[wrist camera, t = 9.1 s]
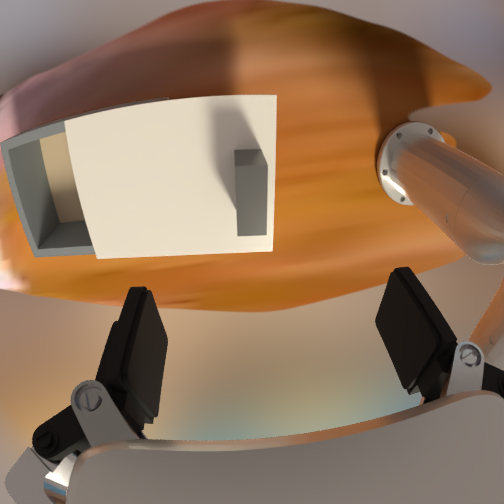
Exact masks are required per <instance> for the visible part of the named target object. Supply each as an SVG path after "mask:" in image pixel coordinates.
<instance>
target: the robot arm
mask: <svg viewBox="0 0 504 504" xmlns="http://www.w3.org/2000/svg"><path fill="white" fill-rule="evenodd" d="M377 174H378V179H379V182H380V185H381V187H382V188H383V190H384V191H385V193H386V194H387V195H388V196H389V197H390V198H391V199H393V200H394V201H396V202H397V203H400V204H403V205H415V206H416V207H418V208H419V209H420V210H421V211H422V212H423V213H424V214H425V215H426V216H427V217H429V218H430V219H431V220H432V221H433V222H434V223H435V224H436V225H437V226H438V227H439V228H440V229H441V230H442V231H443V232H444V233H445V234H446V235H447V236H448V237H449V238H450V239H451V240H452V241H453V242H454V243H455V244H456V245H457V246H458V247H459V248H460V249H461V250H462V251H463V252H464V253H465V254H466V255H467V256H468V257H470V258H471V259H472V260H474V261H476V262H478V263H480V264H486V265H495V264H503V263H504V175H502V174H501V173H499V172H497V171H496V170H494V169H492V168H491V167H489V166H487V165H485V164H484V163H482V162H480V161H478V160H476V159H475V158H473V157H471V156H469V155H467V154H465V153H463V152H462V151H460V150H458V149H456V148H454V147H452V146H450V145H447V144H446V143H445V141H444V139H443V137H442V136H441V134H440V133H439V132H438V131H437V130H436V129H435V128H434V127H432V126H430V125H428V124H426V123H423V122H419V121H410V122H406V123H403V124H401V125H399V126H397V127H396V128H395V129H393V130H392V131H391V132H390V133H389V134H388V136H387V137H386V138H385V140H384V142H383V143H382V145H381V148H380V151H379V154H378V159H377ZM375 323H376V326H377V329H378V331H379V333H380V335H381V337H382V340H383V342H384V344H385V346H386V349H387V351H388V353H389V355H390V358H391V360H392V362H393V365H394V367H395V369H396V372H397V374H398V377H399V379H400V381H401V384H402V386H403V388H404V389H407V391H408V394H409V395H411V394H414V393H417V392H421V394H422V397H421V400H420V403H419V406H417V407H413V408H410V409H407V410H404V411H401V412H398V413H394V414H391V415H388V416H384V417H380V418H376V419H373V420H369V421H365V422H361V423H356V424H352V425H348V426H343V427H338V428H333V429H328V430H322V431H316V432H310V433H304V434H297V435H289V436H281V437H271V438H260V439H246V440H224V441H179V440H152V439H148V438H147V437H146V436H145V434H144V433H143V432H142V430H143V429H144V423H148V424H153V419H154V417H157V416H158V411H159V403H160V395H161V387H162V379H163V372H164V365H165V359H166V352H167V346H168V338H167V335H166V332H165V329H164V326H163V323H162V321H161V318H160V315H159V312H158V309H157V306H156V303H155V301H154V298H153V295H152V292H151V290H147V288H146V287H131V288H130V289H129V292H128V294H127V297H126V300H125V303H124V305H123V308H122V311H121V314H120V317H119V320H118V321H115V322H114V323H113V325H112V328H111V331H110V334H109V336H108V339H107V343H106V345H105V349H104V352H103V355H102V358H101V361H100V365H99V368H98V372H97V375H96V379H95V381H94V380H87V381H84V382H81V383H80V384H79V385H77V386H76V387H75V389H74V390H73V392H72V395H71V405H70V406H68V407H67V408H66V409H64V410H62V411H61V412H59V413H58V414H57V415H55V416H53V417H52V418H51V419H49V420H48V421H46V422H45V423H43V424H41V425H40V426H39V427H38V428H37V429H36V430H35V432H34V434H33V438H32V440H33V441H32V444H33V446H32V448H30V447H28V448H27V449H26V450H25V452H24V453H23V454H22V455H21V457H20V458H19V459H18V461H17V462H16V463H15V464H14V466H13V467H12V468H11V470H10V471H9V472H8V474H7V476H6V479H5V485H6V489H7V491H8V493H9V494H10V495H11V497H12V498H13V499H14V501H15V502H16V503H17V504H504V278H503V280H502V282H501V285H500V287H499V289H498V291H497V292H496V294H495V296H494V298H493V299H492V301H491V303H490V305H489V306H488V308H487V309H486V311H485V312H484V314H483V315H482V317H481V319H480V320H479V322H478V323H477V325H476V327H475V328H474V330H473V332H472V334H471V336H470V338H469V341H463V342H461V343H459V344H457V342H456V340H457V338H456V336H455V335H454V333H453V331H452V330H451V328H450V327H449V325H448V323H447V322H446V320H445V318H444V317H443V315H442V314H441V312H440V311H439V309H438V308H437V306H436V305H435V303H434V302H433V300H432V299H431V297H430V296H429V294H428V293H427V291H426V290H425V289H424V287H423V286H422V284H421V283H420V281H419V280H418V279H417V277H416V276H415V274H414V273H413V272H412V270H411V269H410V268H409V267H400V268H395V269H394V271H393V272H391V274H390V276H389V280H388V283H387V286H386V289H385V292H384V295H383V298H382V301H381V304H380V307H379V310H378V313H377V316H376V320H375ZM67 487H68V489H67ZM66 490H67V496H66Z"/></svg>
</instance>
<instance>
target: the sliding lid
mask: <svg viewBox="0 0 504 504" xmlns="http://www.w3.org/2000/svg"><path fill="white" fill-rule="evenodd" d="M276 99H277V95H220V96H204V97H192V98H181V99H172V100H164V101H157V102H150V103H143V104H137V105H131V106H126V107H120V108H115V109H110V110H105V111H101V112H96V113H92V114H88V115H84V116H80V117H76V118H72V119H69V120H66V121H64V123H65V130H66V136H67V142H68V148H69V154H70V159H71V164H72V169H73V173H74V178H75V182H76V187H77V191H78V195H79V199H80V203H81V207H82V210H83V214H84V218H85V221H86V225H87V228H88V231H89V235H90V238H91V241H92V244H93V247H94V250H95V253H96V256H97V259H106V258H128V257H151V256H174V255H196V254H219V253H242V252H265V251H273V226H274V196H275V158H276Z"/></svg>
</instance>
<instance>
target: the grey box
mask: <svg viewBox="0 0 504 504" xmlns="http://www.w3.org/2000/svg"><path fill="white" fill-rule="evenodd" d="M164 100H170V98H169V97H162V98H155V99H148V100H142V101H136V102H130V103H125V104H119V105H114V106H110V107H105V108H100V109H96V110H92V111H88V112H84V113H80V114H76V115H72V116H69V117H65V118H62V119H58V120H55V121H52V122H49V123H46V124H42V125H39V126H36V127H34V128H31V129H29V130H27V131H24V132H22V133H20V134H18V135H15V136H13V137H11V138H9V139H7V140H5V141H3V142H1V143H0V145H1V150H2V155H3V160H4V164H5V168H6V172H7V176H8V180H9V184H10V188H11V191H12V195H13V198H14V202H15V205H16V208H17V211H18V214H19V217H20V220H21V223H22V226H23V229H24V231H25V234H26V237H27V239H28V242H29V244H30V247H31V249H32V252H33V254H34V257H51V256H70V255H89V254H96V253H95V250H94V247H93V244H92V241H91V238H90V235H89V231H88V228H87V225H86V221H85V218H84V214H83V210H82V207H81V203H80V199H79V195H78V191H77V187H76V182H75V178H74V173H73V169H72V164H71V159H70V154H69V148H68V142H67V136H66V130H65V123H64V121H66V120H69V119H72V118H76V117H80V116H84V115H88V114H92V113H96V112H101V111H105V110H110V109H115V108H120V107H126V106H131V105H137V104H143V103H150V102H157V101H164Z"/></svg>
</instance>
